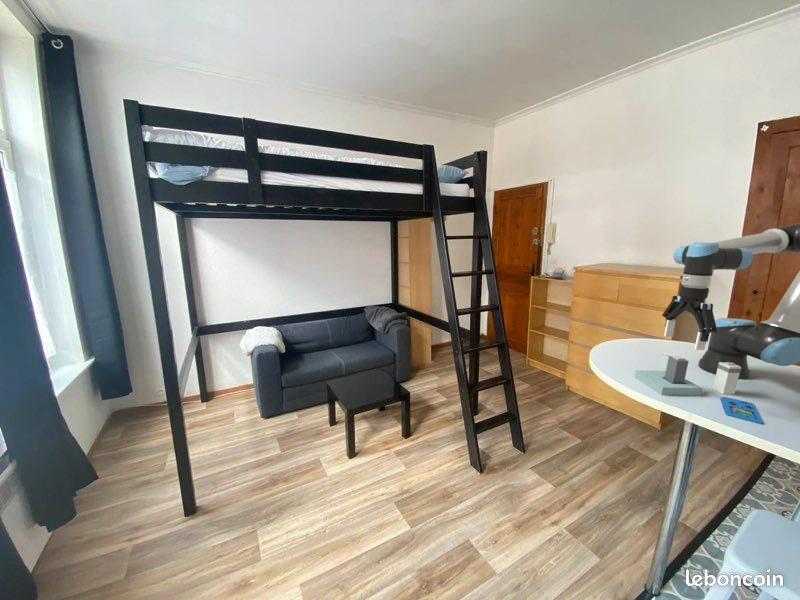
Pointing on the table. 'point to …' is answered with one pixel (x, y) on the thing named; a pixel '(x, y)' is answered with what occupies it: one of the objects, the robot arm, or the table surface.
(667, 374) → the plug
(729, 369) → the block
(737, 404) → the handheld gaming device
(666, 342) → the table surface
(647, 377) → the outlet plate
